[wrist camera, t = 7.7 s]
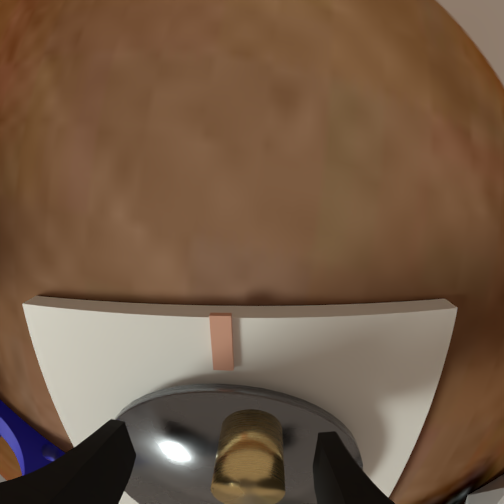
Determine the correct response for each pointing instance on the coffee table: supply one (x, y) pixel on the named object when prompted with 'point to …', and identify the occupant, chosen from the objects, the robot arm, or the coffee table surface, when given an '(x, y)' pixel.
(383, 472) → the wheel base
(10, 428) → the cable clip
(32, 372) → the coffee table surface
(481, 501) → the die
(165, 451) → the handwheel
